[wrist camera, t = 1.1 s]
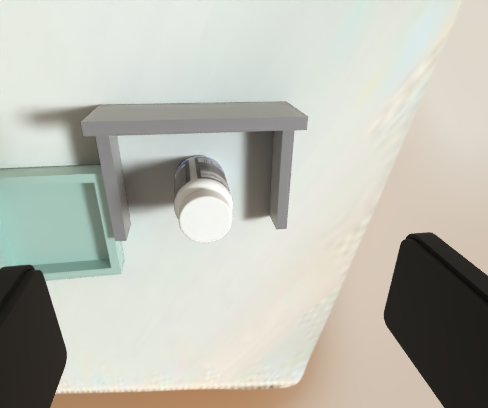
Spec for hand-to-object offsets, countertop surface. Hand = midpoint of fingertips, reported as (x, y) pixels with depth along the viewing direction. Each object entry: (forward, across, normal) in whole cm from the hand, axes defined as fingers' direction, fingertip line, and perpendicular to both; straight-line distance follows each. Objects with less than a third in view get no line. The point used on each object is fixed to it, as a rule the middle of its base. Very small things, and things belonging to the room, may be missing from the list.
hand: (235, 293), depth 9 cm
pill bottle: (+24, 0, +6) cm, 25 cm away
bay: (+24, 0, +5) cm, 24 cm away
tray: (+24, +14, +9) cm, 29 cm away
